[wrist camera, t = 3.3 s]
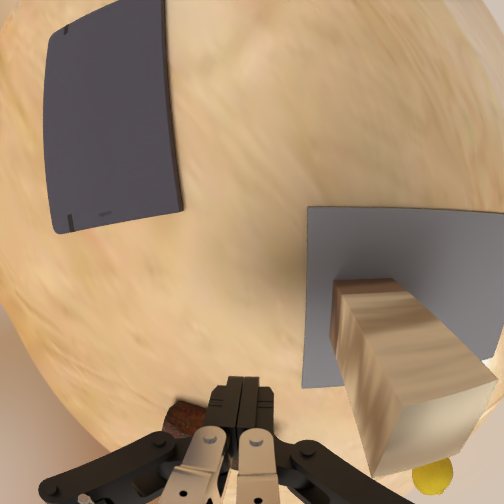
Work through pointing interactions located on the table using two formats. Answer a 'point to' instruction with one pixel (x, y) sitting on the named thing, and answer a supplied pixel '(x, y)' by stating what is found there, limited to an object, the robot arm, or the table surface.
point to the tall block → (404, 375)
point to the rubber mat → (405, 272)
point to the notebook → (109, 119)
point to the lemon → (433, 477)
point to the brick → (187, 423)
